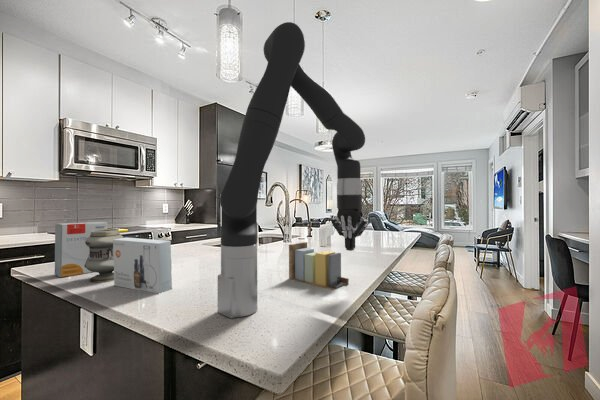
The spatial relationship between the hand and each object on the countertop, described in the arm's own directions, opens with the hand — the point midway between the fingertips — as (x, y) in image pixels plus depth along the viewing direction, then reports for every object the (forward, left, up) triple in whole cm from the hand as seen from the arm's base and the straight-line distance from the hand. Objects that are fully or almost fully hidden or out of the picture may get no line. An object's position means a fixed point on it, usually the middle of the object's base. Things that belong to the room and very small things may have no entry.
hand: (350, 250), depth 87 cm
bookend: (0, +6, -12) cm, 13 cm away
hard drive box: (-50, +94, -13) cm, 107 cm away
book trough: (0, +13, -13) cm, 18 cm away
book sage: (0, +15, -12) cm, 19 cm away
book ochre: (0, +9, -12) cm, 15 cm away
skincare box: (-41, +54, -13) cm, 69 cm away
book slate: (0, +19, -12) cm, 22 cm away
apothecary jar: (-46, +76, -13) cm, 90 cm away
